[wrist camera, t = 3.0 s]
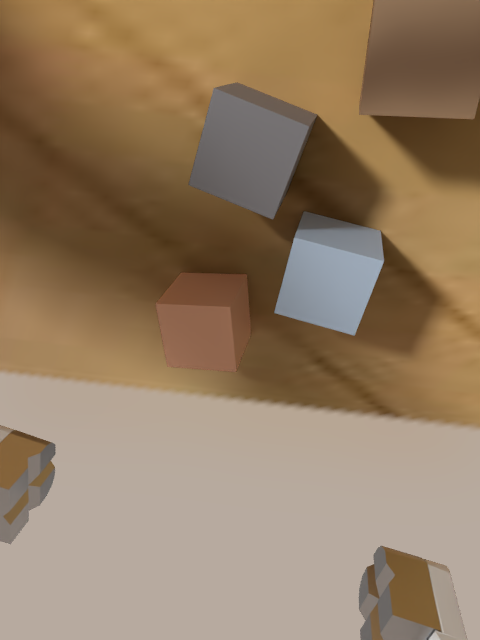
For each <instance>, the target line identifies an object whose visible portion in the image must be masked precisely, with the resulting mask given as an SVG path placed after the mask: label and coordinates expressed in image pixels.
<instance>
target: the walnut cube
mask: <svg viewBox="0 0 480 640" xmlns="http://www.w3.org/2000/svg"><path fill="white" fill-rule="evenodd" d="M479 99H480V0H374V2H373V9H372V17H371V24H370V31H369V39H368V46H367V53H366V61H365V68H364V75H363V83H362V90H361V97H360V105H359V115H380V116H405V117H430V118H454V119H474V118H475V114H476V110H477V106H478V102H479Z"/></svg>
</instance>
